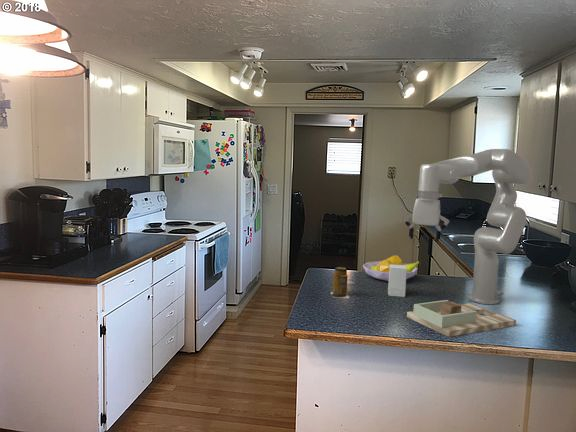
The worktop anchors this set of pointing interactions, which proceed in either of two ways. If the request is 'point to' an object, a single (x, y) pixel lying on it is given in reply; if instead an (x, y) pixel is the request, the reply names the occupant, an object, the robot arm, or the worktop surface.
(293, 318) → the worktop surface
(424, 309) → the low bay
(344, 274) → the condiment
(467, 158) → the robot arm
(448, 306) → the walnut block
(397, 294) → the supplement box
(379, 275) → the fruit bowl
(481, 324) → the board
